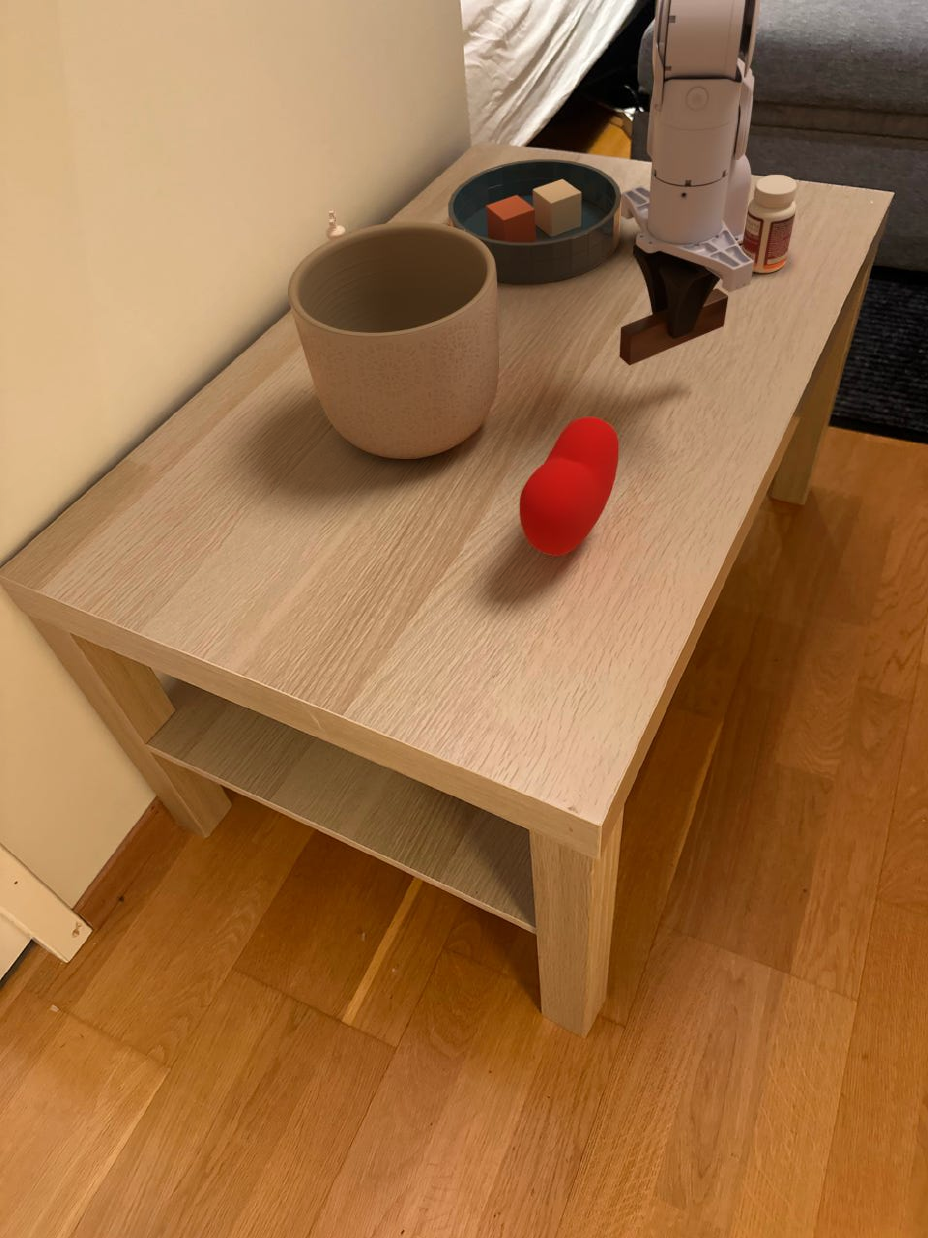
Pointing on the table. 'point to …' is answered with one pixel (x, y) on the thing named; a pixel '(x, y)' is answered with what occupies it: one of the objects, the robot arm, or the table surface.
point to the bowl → (547, 253)
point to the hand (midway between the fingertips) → (673, 327)
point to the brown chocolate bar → (654, 334)
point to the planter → (400, 335)
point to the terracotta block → (511, 220)
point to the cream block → (557, 207)
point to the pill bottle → (770, 222)
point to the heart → (570, 487)
